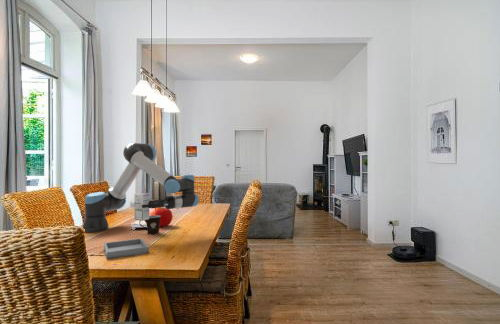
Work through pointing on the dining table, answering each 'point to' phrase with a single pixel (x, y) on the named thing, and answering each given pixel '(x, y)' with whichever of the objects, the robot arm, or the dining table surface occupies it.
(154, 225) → the coffee mug
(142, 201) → the syrup box
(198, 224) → the dining table surface
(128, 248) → the tray
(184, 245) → the dining table surface
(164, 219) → the tomato
